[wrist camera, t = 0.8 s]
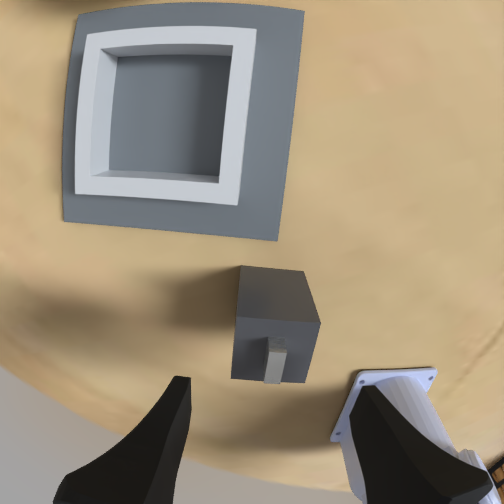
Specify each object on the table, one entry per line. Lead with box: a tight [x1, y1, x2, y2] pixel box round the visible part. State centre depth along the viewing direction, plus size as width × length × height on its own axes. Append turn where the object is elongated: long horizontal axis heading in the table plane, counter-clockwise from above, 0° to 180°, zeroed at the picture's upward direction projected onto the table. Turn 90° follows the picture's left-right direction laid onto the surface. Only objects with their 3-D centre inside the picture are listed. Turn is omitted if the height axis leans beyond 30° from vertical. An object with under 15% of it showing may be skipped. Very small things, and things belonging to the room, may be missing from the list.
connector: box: [231, 265, 321, 384], centre depth 18 cm, size 4×4×7 cm
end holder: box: [62, 2, 305, 241], centre depth 16 cm, size 14×14×3 cm
